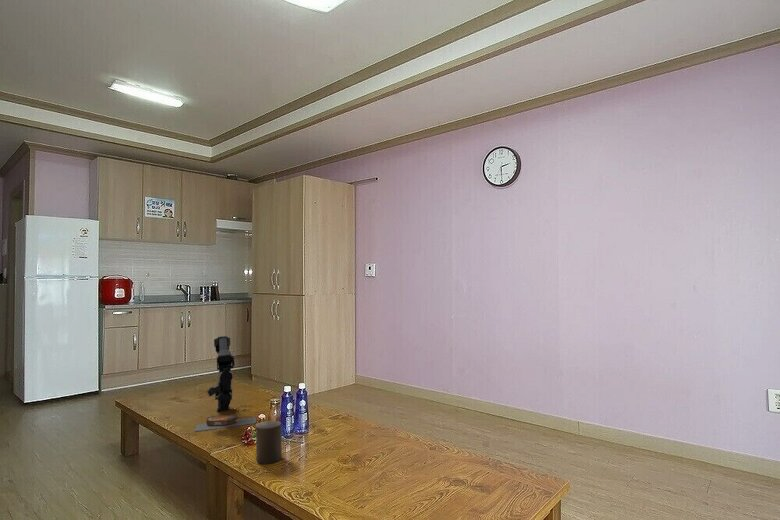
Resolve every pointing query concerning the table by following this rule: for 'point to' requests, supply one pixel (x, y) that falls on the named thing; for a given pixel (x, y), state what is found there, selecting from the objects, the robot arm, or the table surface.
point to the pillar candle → (268, 442)
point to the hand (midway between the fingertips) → (225, 410)
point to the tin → (221, 420)
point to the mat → (237, 423)
